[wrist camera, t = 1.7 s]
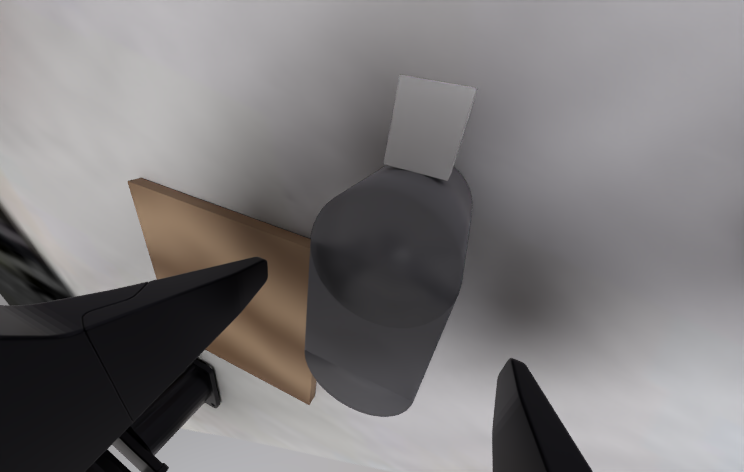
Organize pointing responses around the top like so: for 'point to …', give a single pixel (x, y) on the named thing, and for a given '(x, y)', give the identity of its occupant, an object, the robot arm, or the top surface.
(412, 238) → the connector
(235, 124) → the top surface
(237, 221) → the board
